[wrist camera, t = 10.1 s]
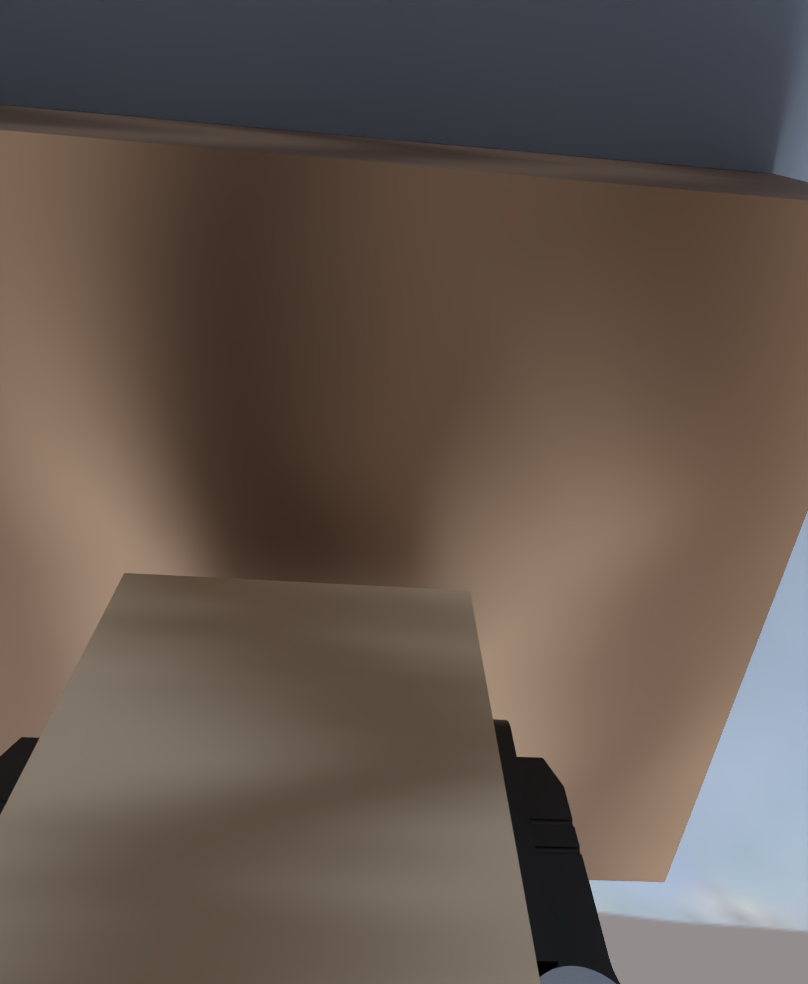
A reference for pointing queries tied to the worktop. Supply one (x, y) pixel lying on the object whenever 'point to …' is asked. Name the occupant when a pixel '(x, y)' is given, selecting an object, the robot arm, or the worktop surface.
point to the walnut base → (413, 416)
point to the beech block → (267, 797)
